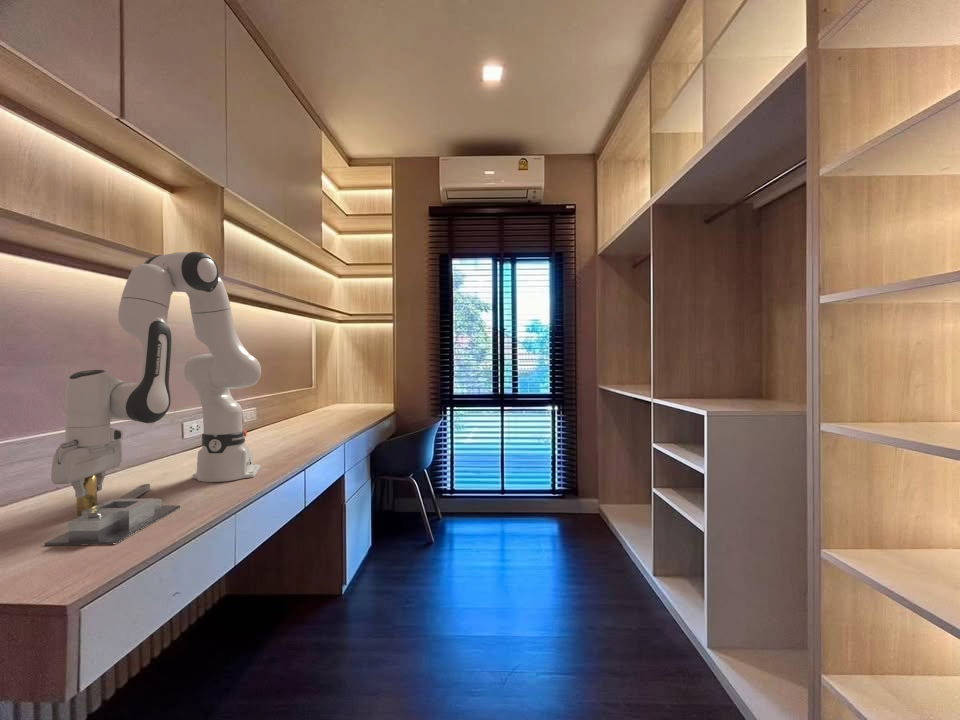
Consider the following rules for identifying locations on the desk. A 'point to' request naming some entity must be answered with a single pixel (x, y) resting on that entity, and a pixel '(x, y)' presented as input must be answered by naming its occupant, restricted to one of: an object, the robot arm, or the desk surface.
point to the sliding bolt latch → (112, 521)
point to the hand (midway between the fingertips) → (89, 493)
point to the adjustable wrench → (136, 492)
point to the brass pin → (88, 495)
